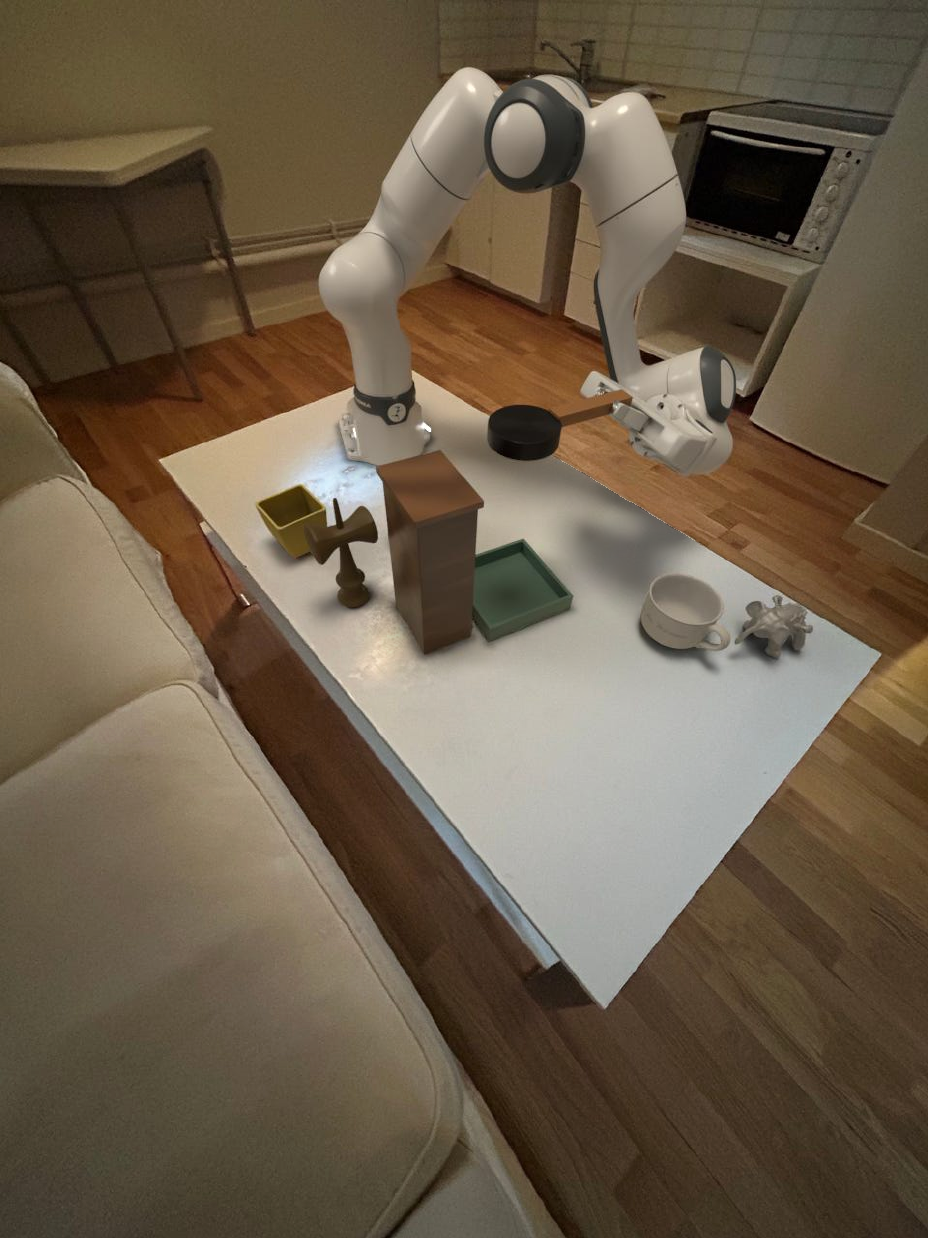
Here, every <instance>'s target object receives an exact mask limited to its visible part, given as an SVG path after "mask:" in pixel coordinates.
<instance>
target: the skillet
mask: <svg viewBox="0 0 928 1238" xmlns="http://www.w3.org/2000/svg"><path fill="white" fill-rule="evenodd" d="M632 399H633V397H632V396H631V395H629V394H628V393H626V392H625V391H624V390H622V389H620V390H616V391H613V392H609V393H605V394H601V395H597V396H593V397H590V398H582V399H579V400H578V399H577V400H575V401H570V402H567V403H564V404H560V405H556V406H552V407H549V408H548V409H546V408H544V407H540V406H537V405H530V404H512V405H506V406H503V407H500V408H498V409H496V410H495V411H493V412H492V413H491V414H490V416H489V417H488V420H487V434H486V442H487V443H488V444H487V445H488V446H489V448H490V449H491V451H493V452H494V453H496V454H497V455H499V456H501V457H503V458H506V459H508V460H513V461H519V462H533V461H540V460H543V459H547V458H549V457H550V456H552V455H553V454H554V453H556V452H557V450H558V448H559V446H560V440H561V434H562V428H565V427H569V426H573V425H576V424H580V423H583V422H587V421H590V420H595V419H597V418H601V417H604V416H609V415H608V414H610V413H609V408H610V407H611V406H612V404H613V402H614V401H615V400H618V401H620V402H622V403H624V404H625V405H627V406H629V407H631V403H632Z"/></svg>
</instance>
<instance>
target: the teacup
mask: <svg viewBox="0 0 928 1238" xmlns="http://www.w3.org/2000/svg"><path fill="white" fill-rule="evenodd" d="M724 609H725V605H724V600H723V599H722V597H721V595H720V594H719V593H718V591H717V590H716V589H715V587H713V586H712V585H711V584H709V583H708V582H706V581H704V580H703V579H701V578H698V577H696V576H693V575H690V574H686V573H677V572H671V573H666V574H661V575H659V576H657V577H656V578H654V579H653V580H652V582H650V585H649V588H648V592H647V594H646V596H645V597H644V601H643V603H642V607H641V611H640V621H641V624H642V627H643V629H644V630H645V632H646V633H647V634H648V635H649V637H650V638H651V639H653V640H654V641H656V642H657V643H659V644H660V645H663V646H665V647H668V648H672V649H677V650H682V649H683V650H685V649H690V648H693V647H695V648H696V649H705V650H708V651H712V652H720V651H724V650H726V649H727V648H728V647H729V646H730V644H731V635H730V632H729V631H728V630H727V628H726V627H724V626H723V625H720V624H718V623H717V622H718V621H719V620H720V618H721V617H722V616H723V614H724ZM716 623H717V624H716ZM712 633H715V634H717V636H718V637H719V639H720V643H714V642H711V641H709V640H707V639H706V638H708V636H709V635H710V634H712Z"/></svg>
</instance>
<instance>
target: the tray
mask: <svg viewBox="0 0 928 1238" xmlns="http://www.w3.org/2000/svg"><path fill="white" fill-rule="evenodd" d="M573 599H574V595H573V594H572V593H571V591H570V590H569V588H567V586H566V585H565V584H564V583H563V582H562V581H561V579H560V578H559V577H557V575H556V574H555V573H554V572H553V570H552V569H551V568H550V567H549V566H548V565H547V564H546V562H544V560H543V559H542V558H541V557H540V556H539V555H538V553H537V552H536V550H534V549H533V548H532V546H530V544H529V543H528V542H527V541H526V540H525V538H521V539H518V540H515V541H512V542H509V543H506V544H502V545H500V546H497V547H494V548H491V549H489V550H485V551H482V552H480V553H477V554H476V555H475V574H474V592H473V610H472V620H473V621H474V622H475V624H476V625H477V627H478V629H480V631H481V632H482V634H483V635H484V637H485V638H486V640H487V641H488V642H491V641H493V640H496V639H499V638H501V637H503V636H507V635H508V634H511V633H513V632H517V631H518V630H521V629H524V628H526V627H528V626H531V625H534V624H536V623H538V622H541V621H543V620H546V619H548V618H550V617H554V616H556V615H559V614H560V613H563V612H566V611H568V610H570V609H571V607H572V603H573Z"/></svg>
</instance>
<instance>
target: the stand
mask: <svg viewBox="0 0 928 1238" xmlns="http://www.w3.org/2000/svg"><path fill="white" fill-rule="evenodd" d="M375 472H376V475H377V476H378V477H379V479H380V480H381V482H382V490H383V498H384V499H383V501H384V508H385V517H386V525H387V537H388V546H389V553H390V555H389V556H390V564H391V573H392V582H393V591H394V600H395V607H396V608H397V610H398V612H399V613H400V616H401V618H402V619H403V620H404V622H405V624H406V626H407V627H408V629H409V631H410V632H411V634H412V636H413V637H414V639H415V641H416V643H417V645H418V646H419V648H420V650H421V651H422V653H423V655H427V654H430V653H432V652H435V651H437V650H441V649H442V648H444V647H448V646H451V645H452V644H455V643H457V642H460V641H463V640H465V639H468V638H470V637H472V625H473V618H472V610H473V592H474V574H475V555H476V553H477V535H478V517H479V510H481V509H484V507H485V500H484V499H483V498H482V497H481V496H480V494H479V493H478V492H477V490H475V488H474V487H473V486H472V485H471V484H470V482H469V481H468V480H467V479H466V478H465V477H464V475H462V473H461V472H460V471H459V470H458V468H456V466H455V465H454V464H453V463H452V462H451V461H450V459H449V458H448V457H447V456H446V455H445V454H444V452H443V451H442V449H437V450H434V451H430V452H426V453H423V454H422V453H421V454H420V455H418V456H414V457H411V458H407V459H403V460H399V461H396V462H392V463H388V464H384V465H381V466H378V465H376V466H375Z"/></svg>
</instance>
